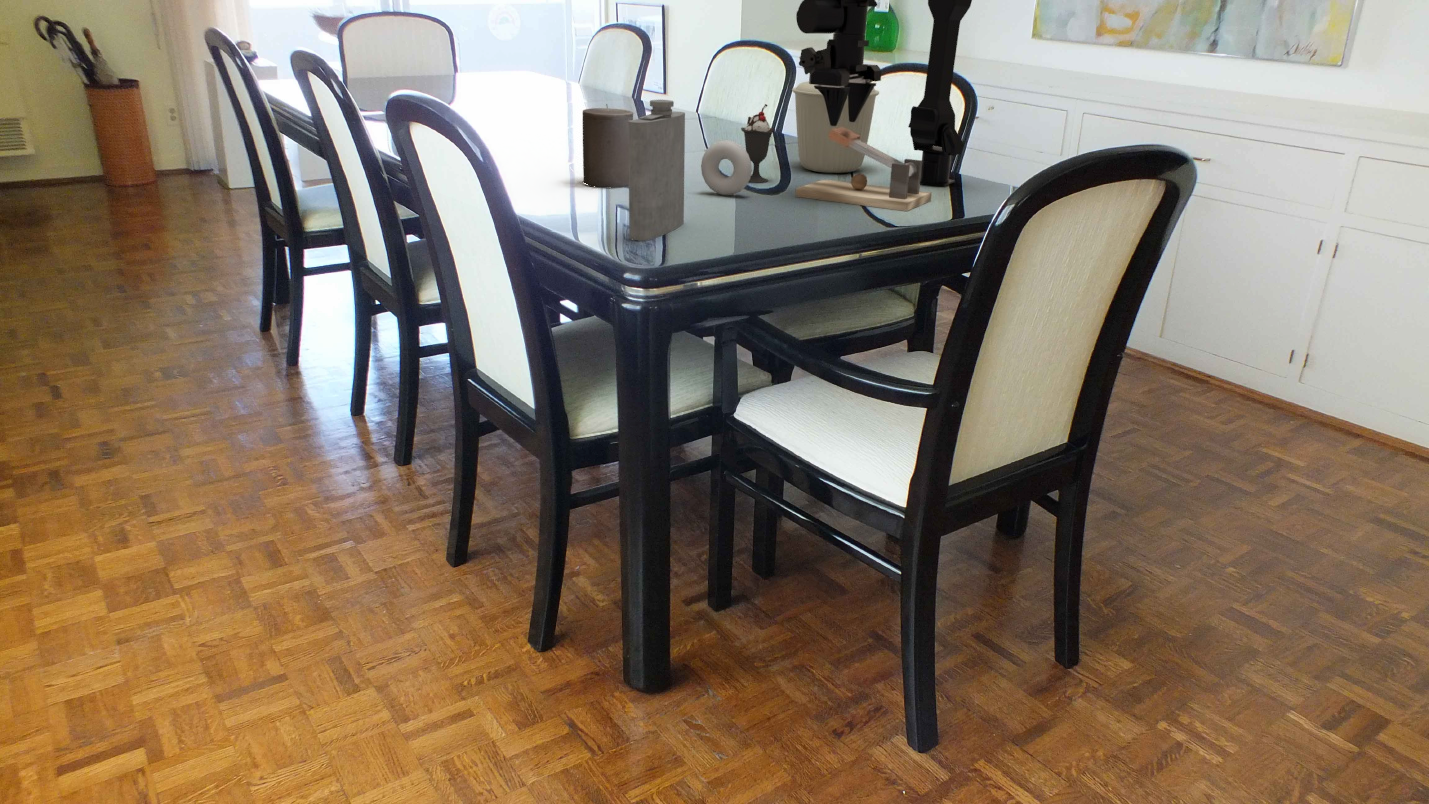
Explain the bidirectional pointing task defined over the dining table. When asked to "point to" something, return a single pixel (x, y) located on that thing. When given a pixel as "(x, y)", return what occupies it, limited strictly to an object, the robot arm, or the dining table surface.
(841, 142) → the lever
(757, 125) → the sundae
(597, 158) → the pillar candle
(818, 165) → the canister
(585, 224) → the dining table surface
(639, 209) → the hip flask
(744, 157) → the donut
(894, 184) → the base
